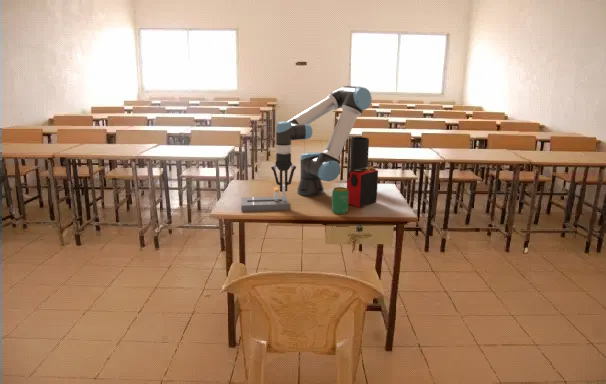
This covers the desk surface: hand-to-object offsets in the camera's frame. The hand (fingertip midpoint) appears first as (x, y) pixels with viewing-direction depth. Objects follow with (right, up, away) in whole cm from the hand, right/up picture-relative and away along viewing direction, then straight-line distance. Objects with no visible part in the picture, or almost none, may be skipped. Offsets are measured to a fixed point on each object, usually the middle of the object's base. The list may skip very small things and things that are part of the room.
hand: (283, 197), depth 237 cm
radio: (+41, -4, +6) cm, 42 cm away
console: (-10, -5, 0) cm, 11 cm away
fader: (-4, -4, +1) cm, 6 cm away
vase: (+43, +4, +33) cm, 54 cm away
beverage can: (+29, -7, -8) cm, 30 cm away
